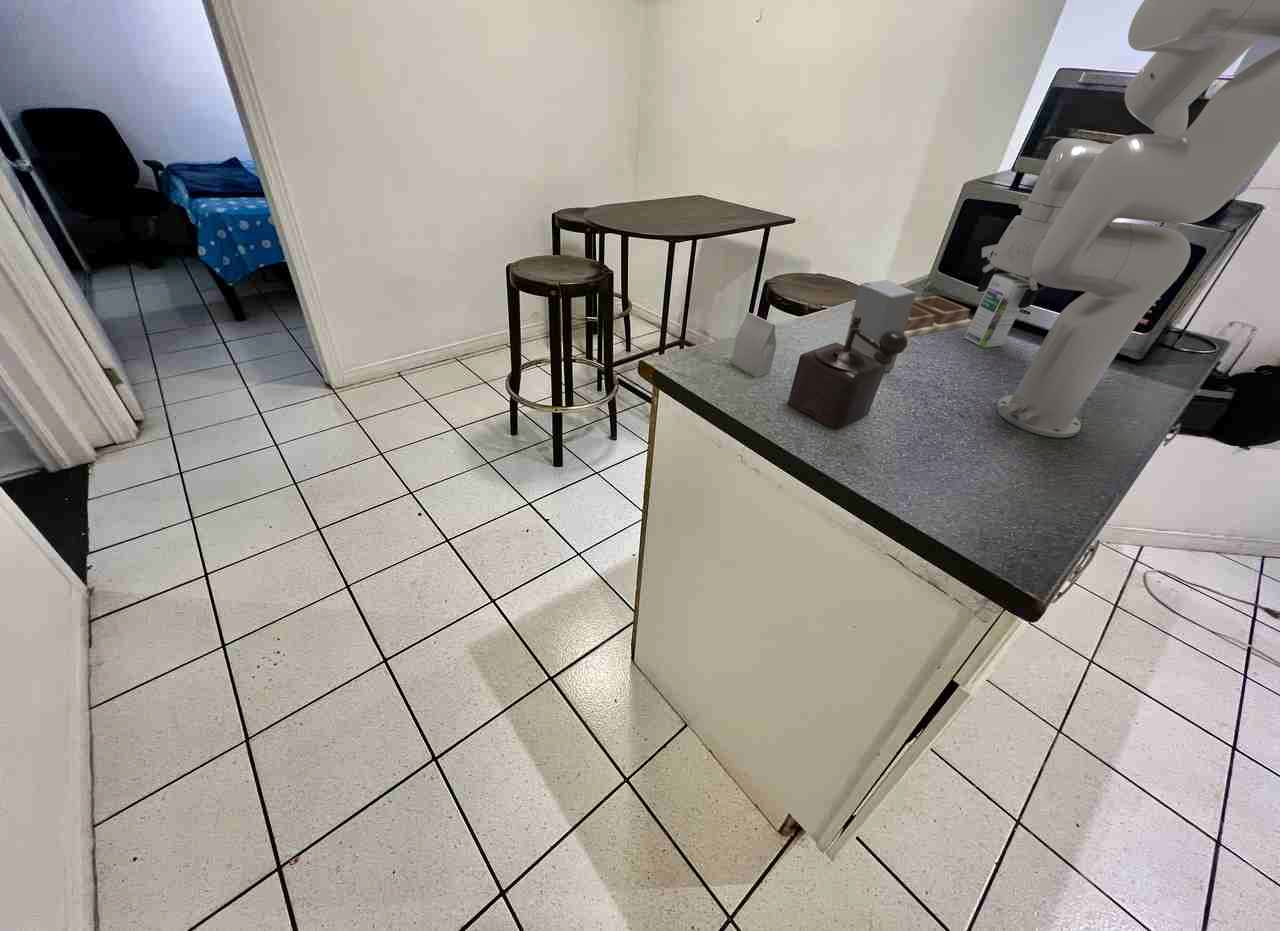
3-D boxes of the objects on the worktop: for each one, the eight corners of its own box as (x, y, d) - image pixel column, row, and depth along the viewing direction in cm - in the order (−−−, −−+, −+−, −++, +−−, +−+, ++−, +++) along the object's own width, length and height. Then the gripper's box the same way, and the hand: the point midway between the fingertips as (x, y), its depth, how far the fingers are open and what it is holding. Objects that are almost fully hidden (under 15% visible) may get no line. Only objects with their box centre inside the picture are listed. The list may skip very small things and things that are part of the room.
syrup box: (962, 337, 120) (992, 273, 111) (982, 335, 121) (1013, 272, 113) (982, 348, 116) (1014, 282, 107) (1002, 346, 117) (1036, 281, 108)
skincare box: (892, 372, 103) (923, 293, 94) (863, 376, 101) (892, 296, 91) (863, 354, 110) (889, 277, 100) (835, 357, 107) (860, 280, 98)
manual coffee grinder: (782, 404, 91) (808, 303, 80) (820, 387, 97) (850, 291, 86) (860, 448, 81) (901, 340, 71) (897, 426, 87) (941, 323, 76)
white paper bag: (756, 377, 98) (767, 326, 92) (731, 363, 103) (740, 313, 96) (769, 373, 100) (781, 323, 94) (745, 359, 104) (754, 310, 98)
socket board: (902, 338, 117) (907, 323, 115) (850, 312, 129) (854, 298, 126) (971, 324, 127) (977, 310, 125) (917, 301, 138) (922, 288, 136)
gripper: (992, 203, 107) (956, 286, 118) (1078, 226, 95) (1029, 316, 106) (1015, 201, 110) (978, 283, 120) (1101, 223, 98) (1051, 311, 109)
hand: (1002, 298), depth 113 cm, fingers open, 9 cm apart
